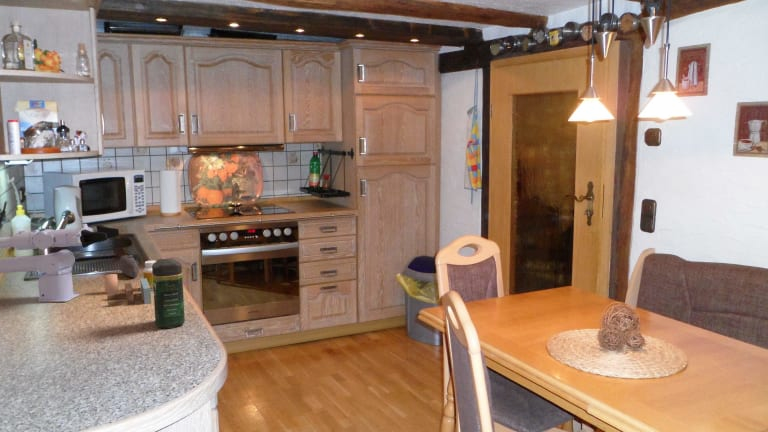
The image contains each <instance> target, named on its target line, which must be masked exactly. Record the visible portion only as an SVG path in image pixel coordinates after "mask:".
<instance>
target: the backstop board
mask: <svg viewBox="0 0 768 432" xmlns="http://www.w3.org/2000/svg"><path fill="white" fill-rule="evenodd" d="M139 281H140V294H141V297H142V299H143V303H144V305H147V304H152V291H151V288H150V286H149V283H148V281H147V278H145V279H144V278H140V279H139Z"/></svg>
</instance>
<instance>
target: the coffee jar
mask: <svg viewBox="0 0 768 432" xmlns="http://www.w3.org/2000/svg"><path fill="white" fill-rule="evenodd" d="M155 261H156V262H155V263H154V264H153V265H152V275H153V290H154V291H153V303H154V321H155V322H154V323H155V325H156V326H157V327H158V328H168V329H172V328H176V327H178V326H182V325H184V324H185V321H186V320H185V319H186V318H185V302H184V296H185V295H184V283H183V282H184V280H183V268H182V267H183V266H182V263H180V262H179V261H177V260H175V259H173V258H161V259H157V260H155Z"/></svg>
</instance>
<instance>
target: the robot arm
mask: <svg viewBox="0 0 768 432" xmlns="http://www.w3.org/2000/svg"><path fill="white" fill-rule="evenodd" d="M95 226H96V228H91V227H89V226H88V223H82V224H81V227H76V228H74V227H73V228H63V229H62V228H60V229H52V228H51V229H50V228H46V229H44V230H39V229H34V230H33V231H26V230H24V229H22V230H18V232H15V234H13V236H12V237H9V236H7V237H5V236H4V237H0V249H7V248H14V249H15V250H17V251H27V250H36V249H37V250H38V249H39V250H41V251H44V250H46V249H49V248H64V247H76V246H79V247H82V248H84V249H85V248H88V247H90V246H92V245H93V244H96V243H101V242H104V241H106V240H108V239H111V238H116V237H118V236H120V230H119V228H114V227H108V226H105V225H103V224H97V225H95ZM75 257H76V256H75V255H74V253H73V252H72V251H71V250H69V249H61V250H59V251H57V252H51V253H47V254H42V255H29V256H18V257H17V256H16V257H15V256H14V257H4V258H1V257H0V274H10V273H23V272H34V271H35V272H36V271H38V273H41V274H39V277H38V281H37V284H38V285H37V286H38V295H39V299H38V303H39V302H46V303H51V302H54V303H55V302H56V303H57V302H58V303H60V302H62V303H63V302H64V303H65V302H66V303H67V302H68V301H70V300H71V301H72V299H74V298H76V297H79V296H80V294H79V293H74V284H73V273H72V269H73V268H72V267H73V266H74V265H75V262H76V258H75Z"/></svg>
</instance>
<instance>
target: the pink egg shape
mask: <svg viewBox="0 0 768 432" xmlns="http://www.w3.org/2000/svg"><path fill="white" fill-rule="evenodd" d="M103 277H104V289H105V295H109V294H118V293H119V281H118V279H119V278H118V274H116V273H110V274H105V275H104V276H103Z"/></svg>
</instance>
